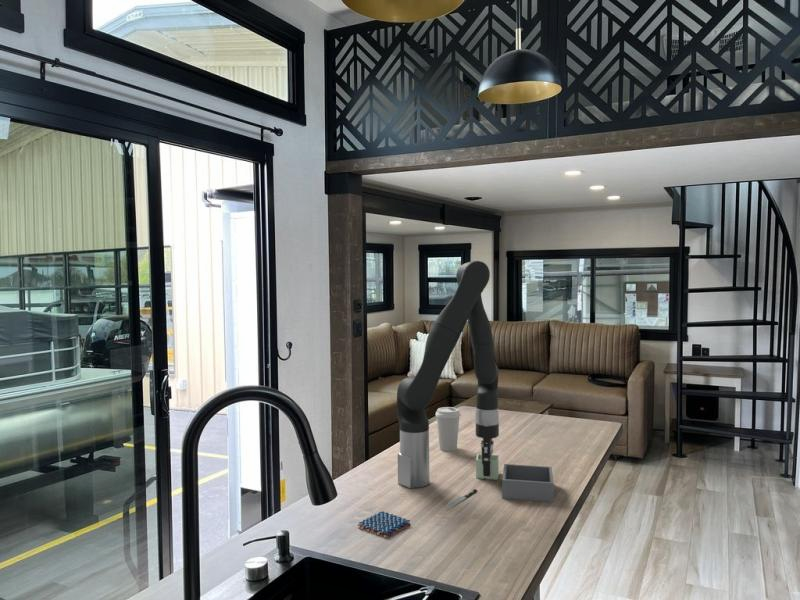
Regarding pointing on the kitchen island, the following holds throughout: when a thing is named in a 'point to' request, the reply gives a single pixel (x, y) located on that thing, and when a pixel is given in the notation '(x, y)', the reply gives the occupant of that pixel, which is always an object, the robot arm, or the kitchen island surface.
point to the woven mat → (384, 524)
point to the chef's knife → (459, 500)
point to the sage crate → (493, 467)
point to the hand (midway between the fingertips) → (487, 472)
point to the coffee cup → (448, 427)
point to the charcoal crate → (527, 482)
